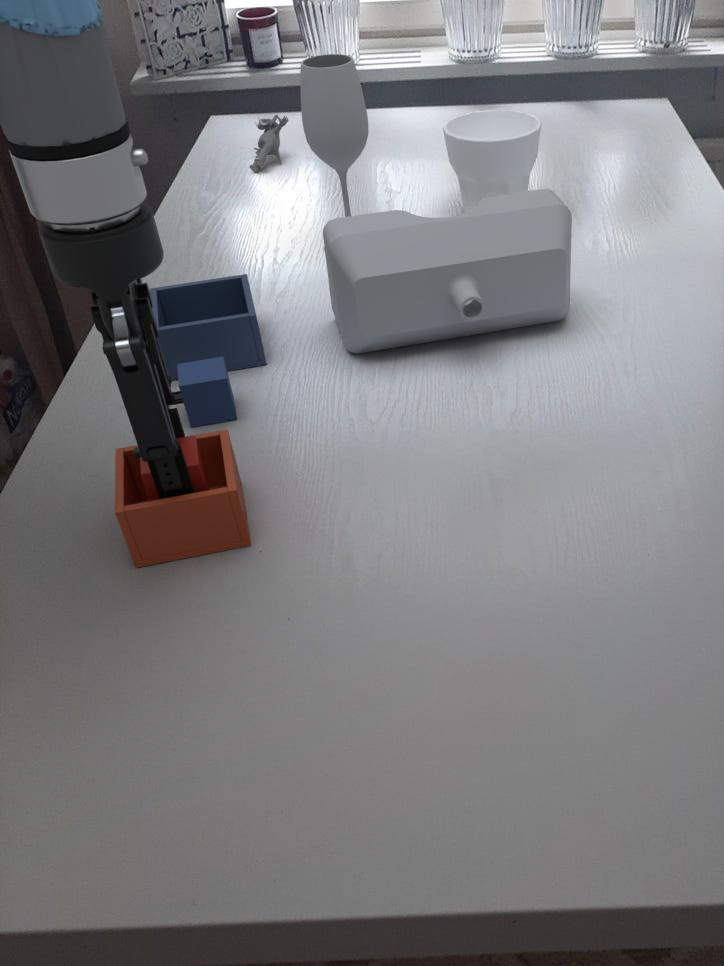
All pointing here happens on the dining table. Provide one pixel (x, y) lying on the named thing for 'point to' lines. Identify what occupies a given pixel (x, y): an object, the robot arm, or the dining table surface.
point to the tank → (449, 271)
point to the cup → (492, 152)
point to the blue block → (206, 391)
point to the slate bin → (208, 323)
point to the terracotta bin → (182, 508)
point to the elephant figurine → (268, 141)
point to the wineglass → (334, 113)
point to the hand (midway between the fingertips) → (181, 496)
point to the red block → (193, 465)
